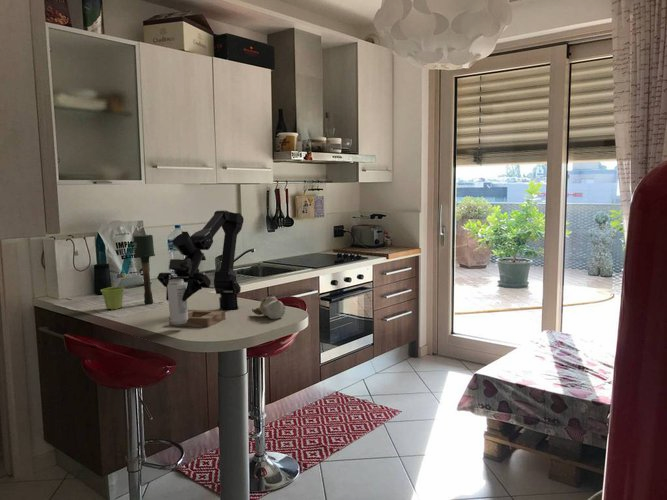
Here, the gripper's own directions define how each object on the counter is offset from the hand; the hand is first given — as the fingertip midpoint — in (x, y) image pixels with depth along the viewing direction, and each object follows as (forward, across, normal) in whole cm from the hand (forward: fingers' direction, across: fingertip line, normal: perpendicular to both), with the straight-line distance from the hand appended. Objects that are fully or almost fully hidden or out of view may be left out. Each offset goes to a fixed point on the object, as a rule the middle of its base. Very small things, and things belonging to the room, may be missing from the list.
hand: (175, 300), depth 182 cm
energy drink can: (+5, 0, +7) cm, 8 cm away
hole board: (-1, 0, +16) cm, 16 cm away
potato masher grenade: (-19, -42, +35) cm, 58 cm away
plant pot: (-12, -52, +28) cm, 60 cm away
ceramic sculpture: (-9, +24, +25) cm, 36 cm away
